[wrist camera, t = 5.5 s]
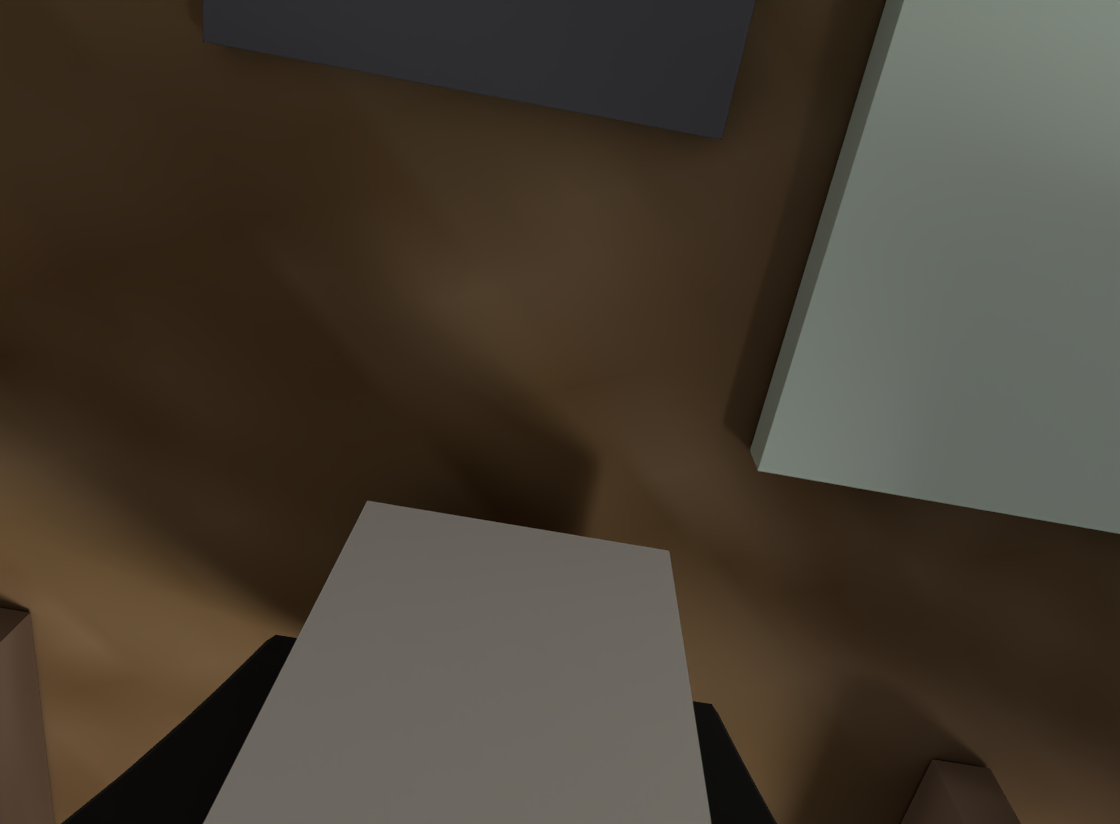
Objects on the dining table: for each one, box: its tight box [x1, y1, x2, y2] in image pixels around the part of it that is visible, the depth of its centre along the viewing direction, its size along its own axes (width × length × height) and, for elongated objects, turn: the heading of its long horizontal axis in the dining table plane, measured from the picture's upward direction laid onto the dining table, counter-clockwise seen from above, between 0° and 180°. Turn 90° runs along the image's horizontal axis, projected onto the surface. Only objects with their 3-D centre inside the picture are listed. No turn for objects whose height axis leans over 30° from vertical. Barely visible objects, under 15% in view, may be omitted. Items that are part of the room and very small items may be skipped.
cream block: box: [203, 501, 711, 824], centre depth 9 cm, size 4×4×5 cm
